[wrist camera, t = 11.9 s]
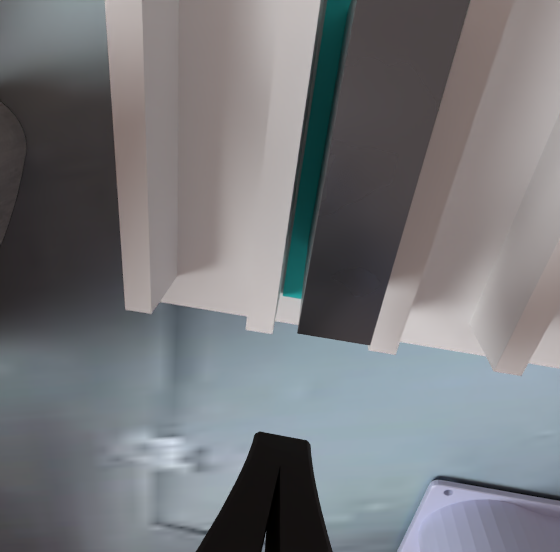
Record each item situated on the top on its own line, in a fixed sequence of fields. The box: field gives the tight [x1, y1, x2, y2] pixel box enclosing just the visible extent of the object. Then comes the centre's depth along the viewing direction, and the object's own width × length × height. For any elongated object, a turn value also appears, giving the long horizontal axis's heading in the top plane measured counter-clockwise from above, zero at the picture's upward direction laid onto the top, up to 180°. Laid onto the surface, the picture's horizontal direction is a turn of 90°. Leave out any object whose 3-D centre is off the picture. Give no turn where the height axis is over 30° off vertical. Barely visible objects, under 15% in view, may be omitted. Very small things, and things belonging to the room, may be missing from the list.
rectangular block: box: [297, 0, 470, 345], centre depth 12 cm, size 2×8×6 cm, turn 173°
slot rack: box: [105, 0, 560, 376], centre depth 14 cm, size 21×17×4 cm
